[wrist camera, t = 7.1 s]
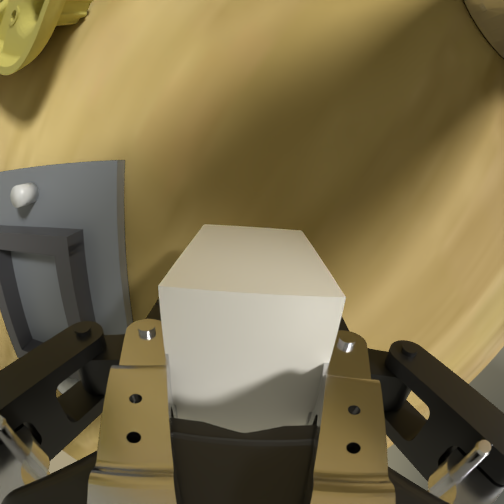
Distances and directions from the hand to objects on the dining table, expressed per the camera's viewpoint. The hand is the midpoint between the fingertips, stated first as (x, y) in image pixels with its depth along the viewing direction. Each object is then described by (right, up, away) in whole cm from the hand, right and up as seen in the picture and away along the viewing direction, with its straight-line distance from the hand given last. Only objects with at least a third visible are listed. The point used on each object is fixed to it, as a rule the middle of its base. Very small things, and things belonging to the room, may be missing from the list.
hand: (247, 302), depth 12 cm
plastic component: (-17, +22, -2) cm, 28 cm away
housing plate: (-15, -1, +5) cm, 16 cm away
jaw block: (0, 0, +1) cm, 1 cm away
